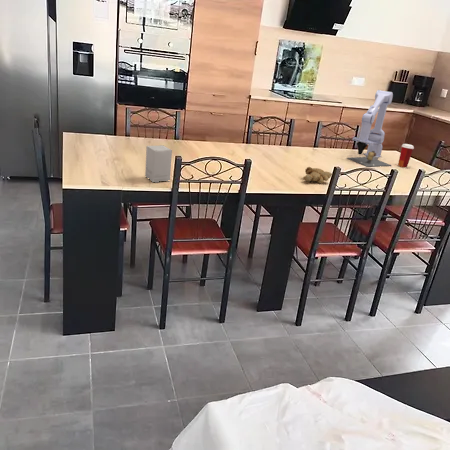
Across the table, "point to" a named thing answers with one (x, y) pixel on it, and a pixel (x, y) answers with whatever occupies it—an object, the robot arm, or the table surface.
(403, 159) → the paper cup
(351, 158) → the plate
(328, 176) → the ginger root
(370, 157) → the lever
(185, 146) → the table surface
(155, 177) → the supplement box
